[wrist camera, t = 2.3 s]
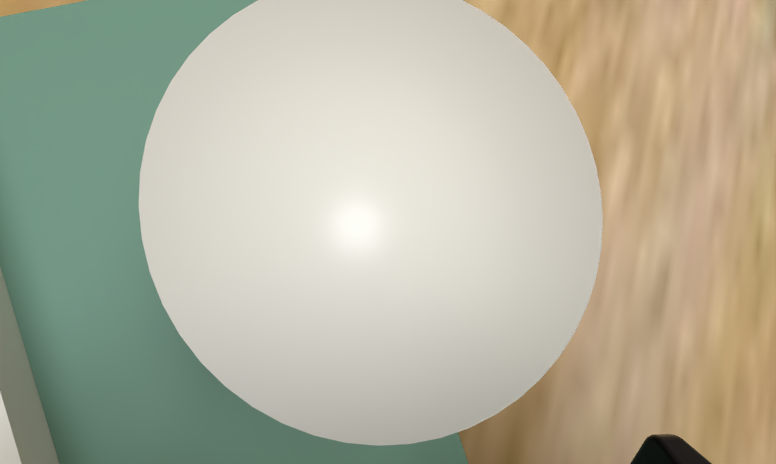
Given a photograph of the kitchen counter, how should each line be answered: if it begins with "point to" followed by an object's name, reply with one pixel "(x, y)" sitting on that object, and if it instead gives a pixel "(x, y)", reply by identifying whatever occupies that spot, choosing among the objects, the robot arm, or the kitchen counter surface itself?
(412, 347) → the dome-topped cylinder
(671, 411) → the kitchen counter surface
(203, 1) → the board
